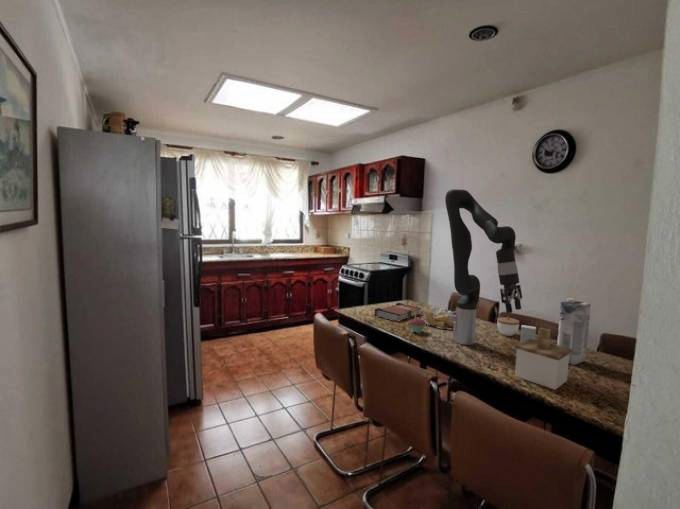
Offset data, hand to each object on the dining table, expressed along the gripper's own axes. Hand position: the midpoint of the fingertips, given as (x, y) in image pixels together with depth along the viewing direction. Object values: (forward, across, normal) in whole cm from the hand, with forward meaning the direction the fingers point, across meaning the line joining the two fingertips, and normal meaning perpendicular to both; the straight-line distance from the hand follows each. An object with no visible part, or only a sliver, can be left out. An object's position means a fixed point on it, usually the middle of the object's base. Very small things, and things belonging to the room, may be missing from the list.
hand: (514, 311), depth 149 cm
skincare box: (+22, -16, -5) cm, 27 cm away
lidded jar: (+18, -36, -22) cm, 46 cm away
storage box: (+24, +9, +10) cm, 28 cm away
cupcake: (+11, +1, -52) cm, 54 cm away
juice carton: (+25, -21, +11) cm, 35 cm away
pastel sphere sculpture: (+12, -25, -52) cm, 59 cm away
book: (+6, -17, -80) cm, 82 cm away
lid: (+14, +9, +12) cm, 20 cm away
